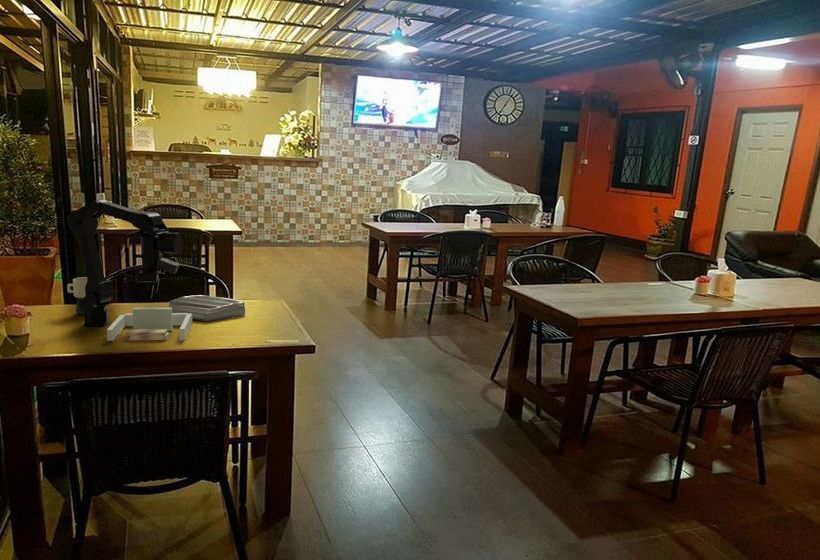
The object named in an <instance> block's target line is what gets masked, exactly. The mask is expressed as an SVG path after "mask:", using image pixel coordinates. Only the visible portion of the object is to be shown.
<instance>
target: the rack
mask: <svg viewBox="0 0 820 560" xmlns="http://www.w3.org/2000/svg"><path fill="white" fill-rule="evenodd" d="M172 321H173V326H180V327H179V341H180V342H184V341H183V340H185V341H186V339H187V337H188V335H189V332H190V330H191V328H192V326H191V325H193V320H192V313H172ZM125 327H133V313H121V314H120V315H119V316H118V317H117V318H116V319H115V320H114V321H113V322H112V323H111V325H110V326H108V328H107V329H106V341H113V340H114V341H115V340H116V338H117V337H118V336H119V335H118V334H121V332H122V331H124V329H125ZM123 328H124V329H123ZM187 334H188V335H187ZM117 335H118V336H117ZM116 336H117V337H116ZM186 336H187V337H186ZM114 341H113V342H114Z"/></svg>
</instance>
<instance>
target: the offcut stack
mask: <svg viewBox="0 0 820 560" xmlns="http://www.w3.org/2000/svg"><path fill="white" fill-rule="evenodd" d="M125 332H126V334H125V335H126V336H128V337H126V341H149V340H166V341H168V339H169V338H170V332H167V329H133V328H129V329H128V330H127V331H125Z"/></svg>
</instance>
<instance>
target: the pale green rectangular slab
mask: <svg viewBox="0 0 820 560" xmlns="http://www.w3.org/2000/svg"><path fill="white" fill-rule="evenodd" d="M132 314H133V326H132V327H133V328H132V329H167V331H172V332H173V330H174V329H173V326H174V325H173V321H172V308H169V307H133V308H132Z"/></svg>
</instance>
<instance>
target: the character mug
mask: <svg viewBox="0 0 820 560" xmlns="http://www.w3.org/2000/svg"><path fill="white" fill-rule="evenodd" d="M86 283H87V276H82V277H76V278H73V279H72V283H68V284H67V286H66V288H67V289H66V290H67V293H69V294H73V297H75V298H76V305H75V313H76V314H79V315H84V309H80V306H79V302H80V301H81V300H82V299H83V298H84V297H85V286H86ZM71 287H72V289H73V290H72V289H71Z"/></svg>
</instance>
